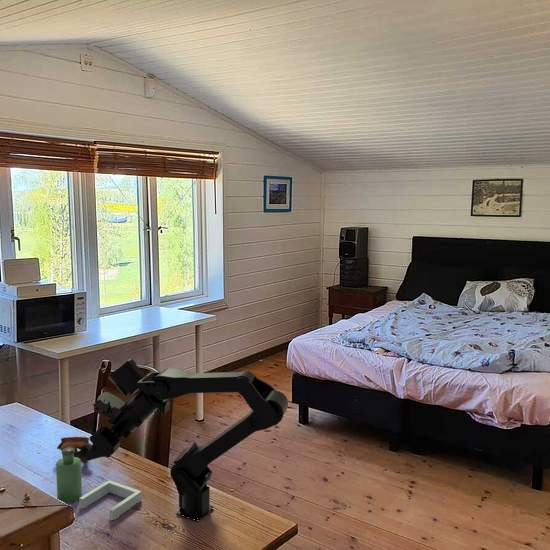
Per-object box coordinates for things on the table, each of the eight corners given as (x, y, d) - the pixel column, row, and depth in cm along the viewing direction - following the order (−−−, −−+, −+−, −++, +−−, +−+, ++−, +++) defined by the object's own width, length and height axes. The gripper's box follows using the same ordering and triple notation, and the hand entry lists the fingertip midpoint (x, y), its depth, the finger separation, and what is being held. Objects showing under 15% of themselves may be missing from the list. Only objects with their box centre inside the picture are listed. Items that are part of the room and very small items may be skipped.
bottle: (86, 494, 137) (85, 448, 135) (68, 505, 132) (67, 457, 130) (70, 488, 139) (69, 443, 137) (52, 499, 134) (50, 452, 132)
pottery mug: (47, 469, 149) (50, 437, 152) (72, 470, 157) (75, 440, 160) (82, 467, 145) (85, 434, 148) (106, 468, 153) (108, 437, 156)
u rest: (141, 500, 134) (141, 491, 134) (113, 521, 126) (112, 510, 126) (109, 489, 139) (108, 480, 139) (79, 507, 131) (79, 498, 130)
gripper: (130, 371, 138) (90, 410, 142) (97, 398, 120) (51, 442, 123) (161, 404, 139) (120, 442, 142) (132, 436, 120) (85, 478, 123)
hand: (95, 449), depth 133 cm, fingers open, 9 cm apart
